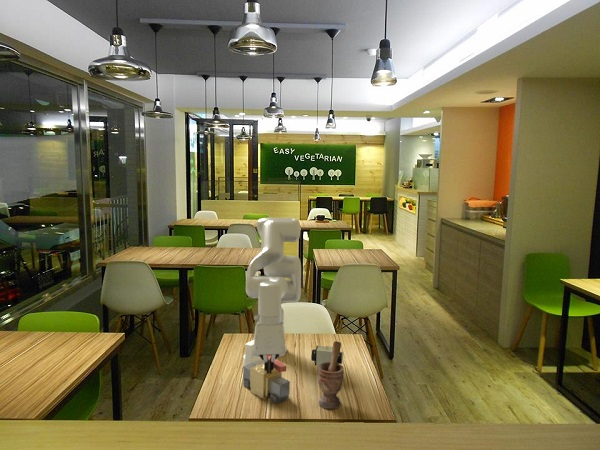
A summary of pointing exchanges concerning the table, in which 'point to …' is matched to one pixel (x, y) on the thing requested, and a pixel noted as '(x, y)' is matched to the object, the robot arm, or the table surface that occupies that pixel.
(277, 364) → the lever
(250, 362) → the cylinder with rectangular tab
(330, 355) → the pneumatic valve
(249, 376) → the valve pipe
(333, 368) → the mortar and pestle
